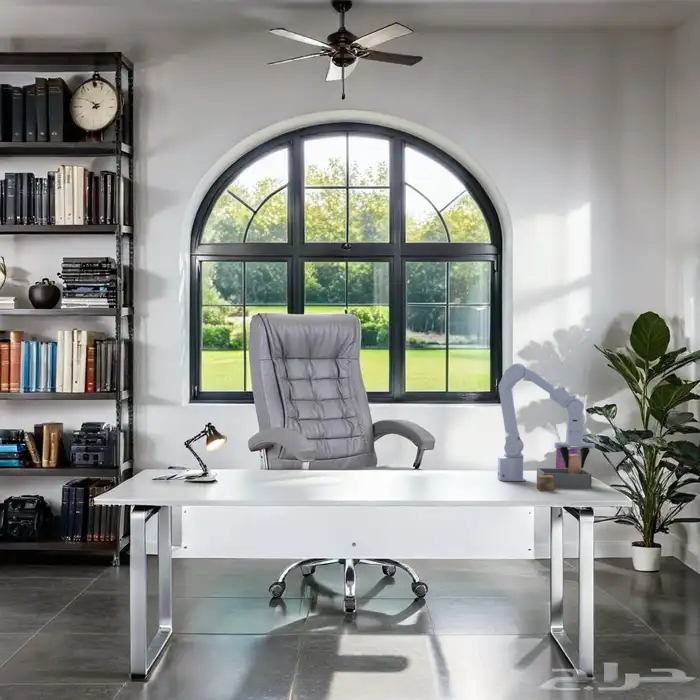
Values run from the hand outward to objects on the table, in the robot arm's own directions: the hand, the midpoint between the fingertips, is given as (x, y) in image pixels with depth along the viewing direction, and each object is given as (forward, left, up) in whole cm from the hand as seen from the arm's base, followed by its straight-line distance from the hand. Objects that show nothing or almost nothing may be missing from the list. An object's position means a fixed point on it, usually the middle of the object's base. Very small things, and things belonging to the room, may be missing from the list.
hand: (574, 467), depth 337 cm
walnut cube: (-14, -14, -6) cm, 21 cm away
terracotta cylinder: (0, 0, -2) cm, 2 cm away
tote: (-5, -3, -6) cm, 8 cm away
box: (+1, +17, -6) cm, 18 cm away
